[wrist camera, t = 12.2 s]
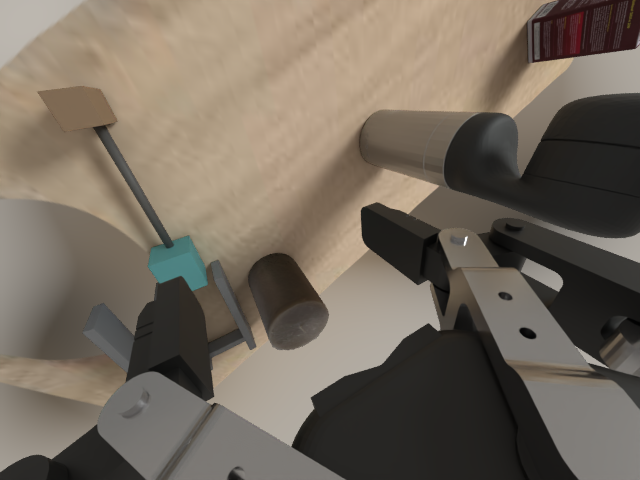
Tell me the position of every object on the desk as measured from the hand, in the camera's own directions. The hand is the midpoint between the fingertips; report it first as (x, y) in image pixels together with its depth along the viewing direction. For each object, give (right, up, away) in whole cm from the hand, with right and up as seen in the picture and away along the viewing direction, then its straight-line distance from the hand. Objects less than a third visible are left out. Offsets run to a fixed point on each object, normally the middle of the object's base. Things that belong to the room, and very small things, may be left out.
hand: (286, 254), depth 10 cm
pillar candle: (-8, -6, +36) cm, 37 cm away
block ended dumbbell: (-21, +6, +20) cm, 30 cm away
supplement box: (+46, +43, +39) cm, 74 cm away
